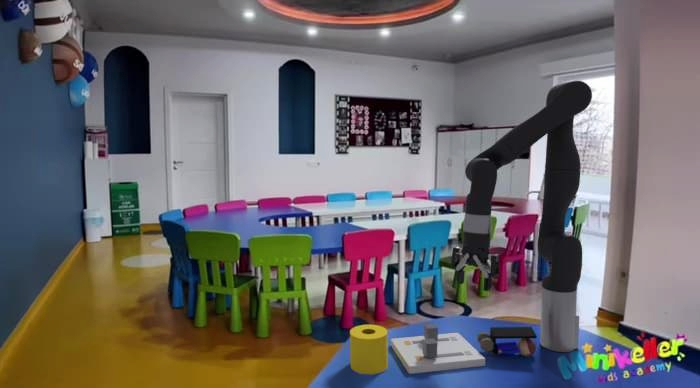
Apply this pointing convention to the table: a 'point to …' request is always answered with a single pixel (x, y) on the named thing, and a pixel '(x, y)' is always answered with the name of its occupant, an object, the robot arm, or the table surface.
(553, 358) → the table surface
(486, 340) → the black toy car
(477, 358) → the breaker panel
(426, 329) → the handle
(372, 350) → the tape roll
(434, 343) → the on handle
